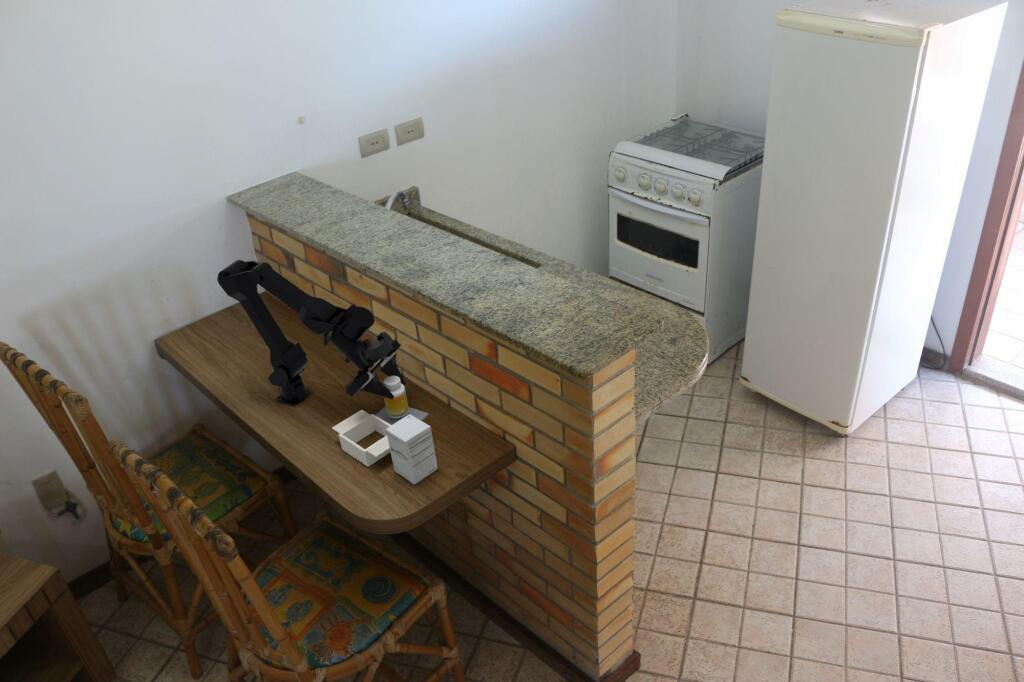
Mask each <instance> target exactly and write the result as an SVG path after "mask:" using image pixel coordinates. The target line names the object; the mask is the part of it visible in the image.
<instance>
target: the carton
mask: <svg viewBox="0 0 1024 682" xmlns="http://www.w3.org/2000/svg"><path fill="white" fill-rule="evenodd" d="M375 415H376V414H374V413H372V414H371V413H370V414H369V413H368V412H367V411H365V410H363V409H361V410H359V411H357V412H356V413H354V414H352V415H351V416H349V417H347V418H345V419H344V420H342V421H341V422H339V423H337V424H336V425H334V426H332V427H331V429H332V430H333V431H335V432H336V433H338V439H339V443H340V446H341V450H342V451H343V452H345V453H347V454H348V455H349V456H351V457H353V458H354V459H355V458H356V459H355V460H357V461H358V460H359V462H360V463H361V462H362V465H364V466H366V467H368V468H369V467H370V466H372V465H373V464H375V463H376V462H378V461H380V460H381V459H382V458H384V457H385V456H387V455H388V454H391V452H390V447H389V442H388V437H387V433H386V429H387V428H388V427H390V426H391V425H390V424H389V423H387V422H385V421H384V420H382V419H380V418H379V417H377V416H375ZM374 432H377V433H379V434H380V435H381V436H384V437H381V438H380V439H379V440H377V441H376V442H375V443H373V444H371V445H369V447H367V448H363V447H362V446H360V445H359V444H357V443H358V442H359V441H361V440H363V439H365V437H367V436H369V435H371V434H373V433H374Z"/></svg>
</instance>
